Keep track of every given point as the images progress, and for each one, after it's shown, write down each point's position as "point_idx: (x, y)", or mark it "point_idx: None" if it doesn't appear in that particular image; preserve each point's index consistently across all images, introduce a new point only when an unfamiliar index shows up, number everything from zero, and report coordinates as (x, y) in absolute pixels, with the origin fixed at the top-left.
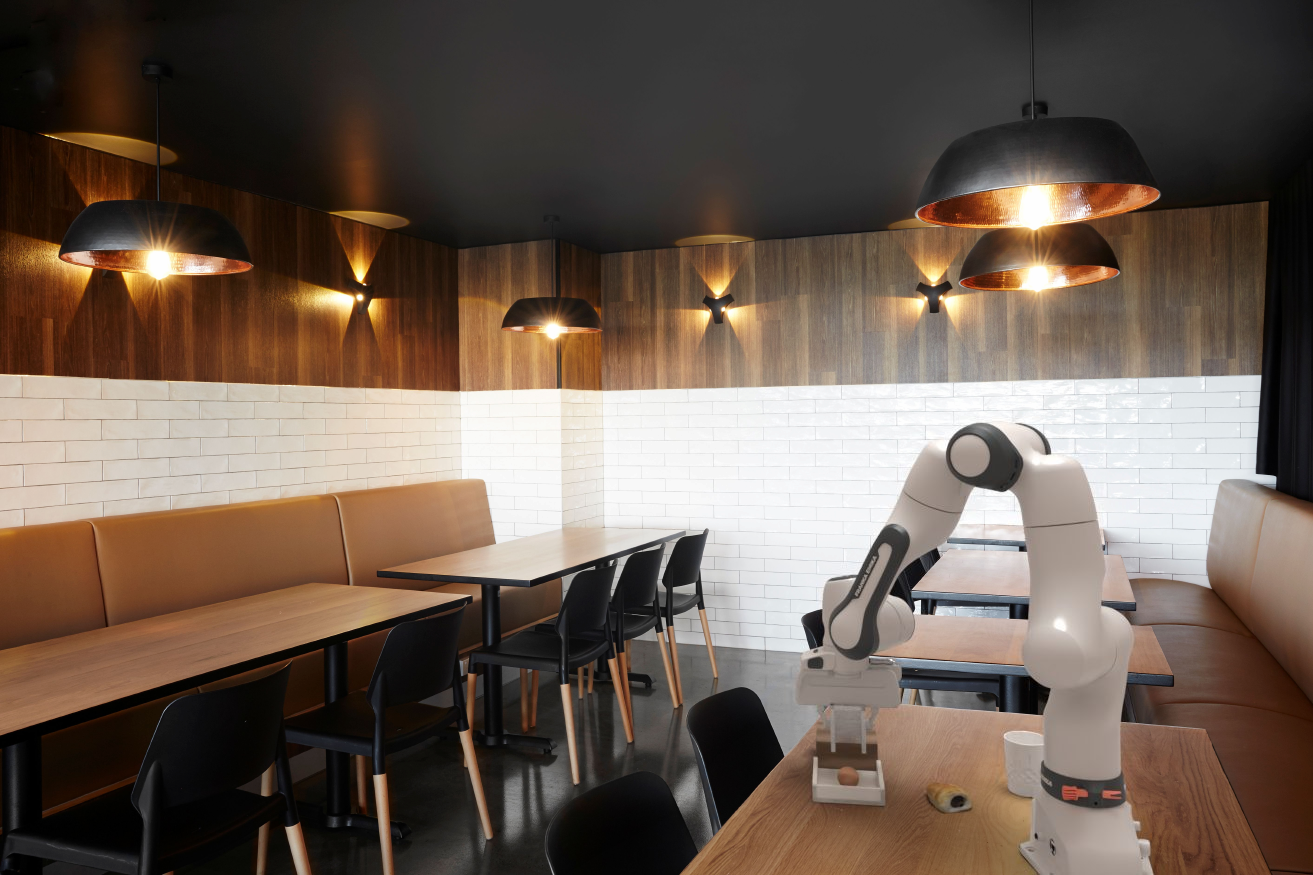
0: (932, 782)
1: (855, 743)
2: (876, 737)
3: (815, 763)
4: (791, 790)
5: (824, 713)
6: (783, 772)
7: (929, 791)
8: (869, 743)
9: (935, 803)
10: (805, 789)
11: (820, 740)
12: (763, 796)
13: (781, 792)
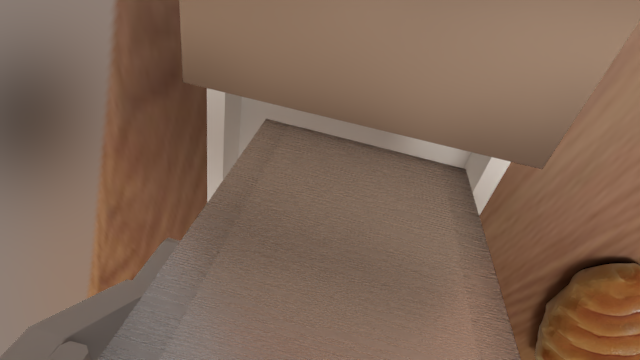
0: (607, 306)
1: (411, 135)
2: (625, 40)
3: (215, 142)
4: (167, 190)
5: (126, 304)
6: (118, 43)
7: (557, 324)
8: (497, 150)
9: (540, 335)
10: (206, 189)
11: (208, 70)
12: (102, 212)
13: (142, 198)
